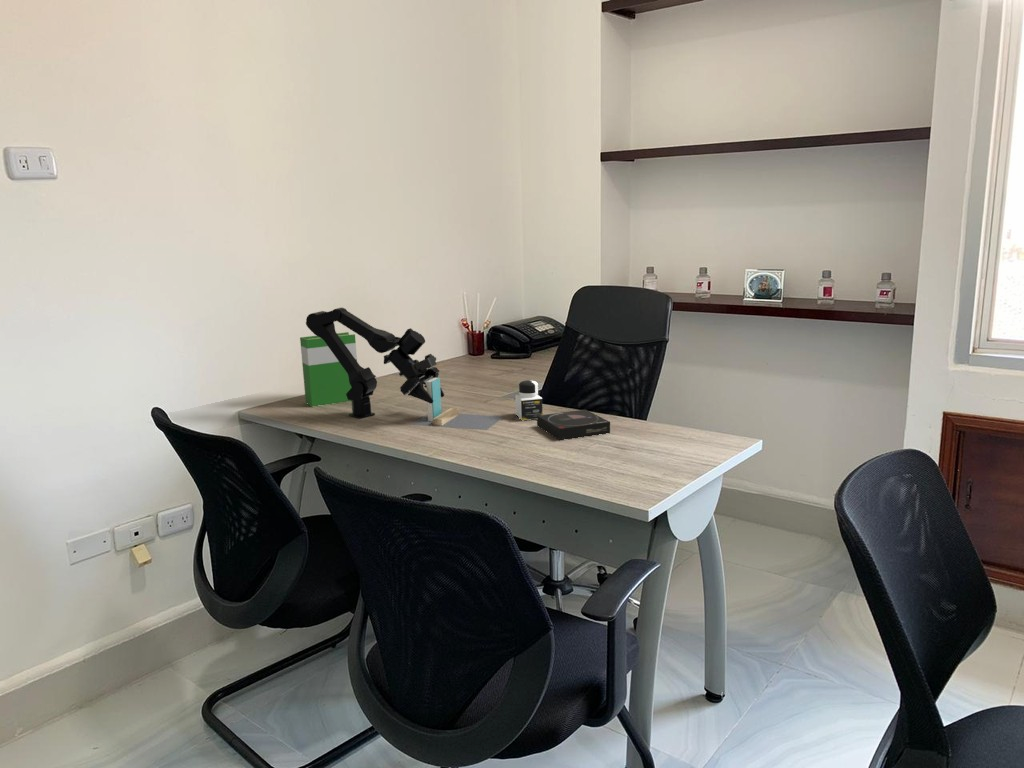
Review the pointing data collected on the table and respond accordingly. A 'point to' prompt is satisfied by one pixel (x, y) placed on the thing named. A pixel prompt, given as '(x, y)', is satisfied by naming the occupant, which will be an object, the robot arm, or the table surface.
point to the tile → (434, 398)
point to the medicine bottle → (528, 401)
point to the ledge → (446, 416)
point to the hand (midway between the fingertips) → (438, 399)
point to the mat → (464, 421)
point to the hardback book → (325, 370)
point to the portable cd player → (573, 424)
